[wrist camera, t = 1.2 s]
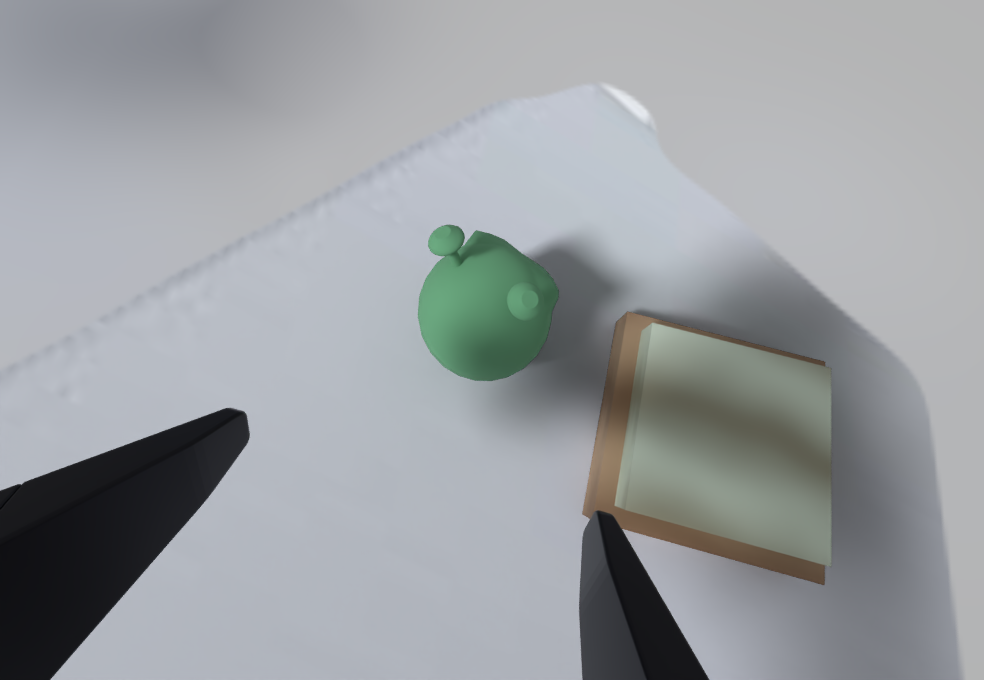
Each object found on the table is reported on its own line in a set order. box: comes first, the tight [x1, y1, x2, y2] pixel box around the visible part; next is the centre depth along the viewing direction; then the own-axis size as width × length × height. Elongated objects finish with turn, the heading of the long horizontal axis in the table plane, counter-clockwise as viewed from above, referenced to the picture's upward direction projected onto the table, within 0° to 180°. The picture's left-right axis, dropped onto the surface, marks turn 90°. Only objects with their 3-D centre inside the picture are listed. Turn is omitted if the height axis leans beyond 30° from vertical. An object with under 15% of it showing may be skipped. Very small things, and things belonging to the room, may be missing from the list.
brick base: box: [582, 312, 831, 585], centre depth 21 cm, size 12×12×4 cm
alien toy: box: [418, 225, 559, 381], centre depth 19 cm, size 7×8×10 cm
